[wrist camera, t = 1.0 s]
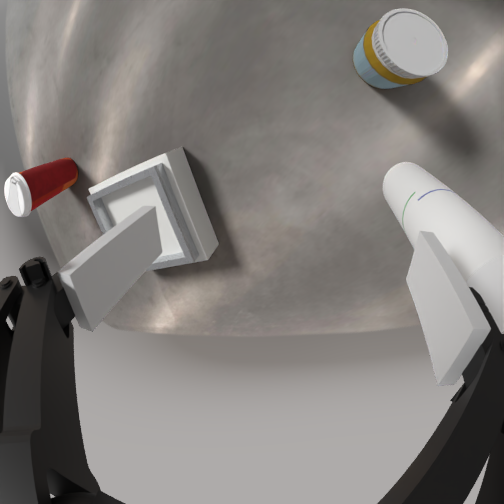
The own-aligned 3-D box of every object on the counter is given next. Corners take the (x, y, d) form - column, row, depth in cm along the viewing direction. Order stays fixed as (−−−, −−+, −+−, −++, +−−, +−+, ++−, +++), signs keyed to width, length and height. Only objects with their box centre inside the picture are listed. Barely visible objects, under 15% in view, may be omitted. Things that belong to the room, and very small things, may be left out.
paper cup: (59, 146, 43) (2, 168, 31) (84, 160, 43) (26, 185, 31) (55, 182, 47) (3, 208, 35) (79, 196, 47) (26, 228, 35)
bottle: (380, 99, 30) (417, 97, 17) (340, 60, 29) (354, 32, 16) (414, 69, 26) (466, 54, 14) (376, 29, 25) (407, -10, 12)
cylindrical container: (437, 195, 34) (535, 309, 12) (398, 221, 37) (460, 357, 16) (414, 152, 32) (527, 232, 11) (372, 179, 35) (436, 294, 14)
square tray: (107, 179, 44) (80, 193, 38) (182, 146, 39) (157, 156, 33) (142, 259, 51) (122, 280, 45) (219, 243, 45) (203, 267, 39)
